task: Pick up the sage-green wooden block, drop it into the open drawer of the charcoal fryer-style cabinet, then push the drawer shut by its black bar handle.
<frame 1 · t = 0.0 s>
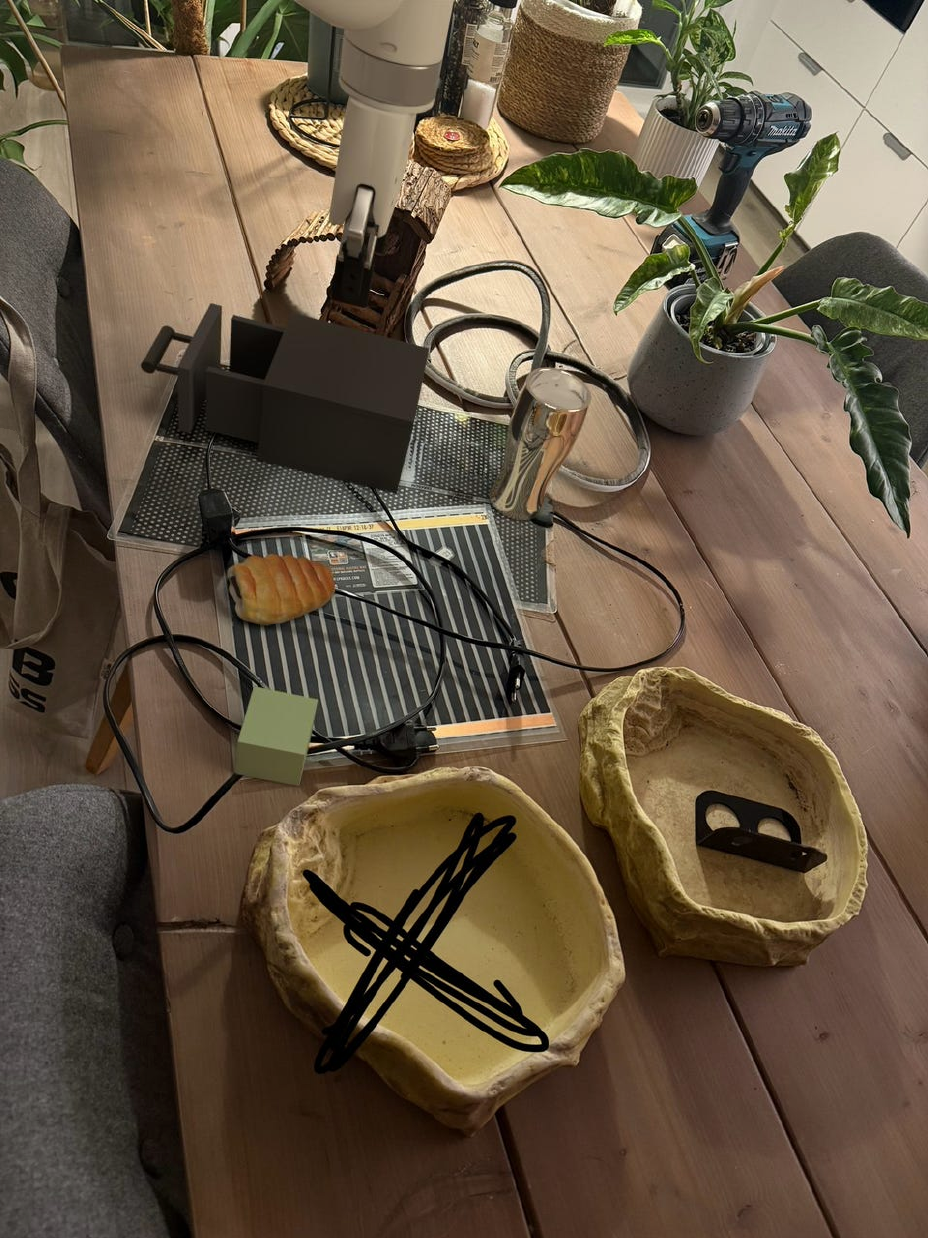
hand: (358, 274, 80), 19 cm above the table, tool pointing down, fingers open, 9 cm apart
block: (274, 752, 70), on the table
cabinet: (339, 439, 95), on the table
beer glass: (515, 502, 95), on the table
drawer: (239, 377, 90), point 5 cm above the table, slide at 7.0 cm
pastry: (274, 597, 80), on the table
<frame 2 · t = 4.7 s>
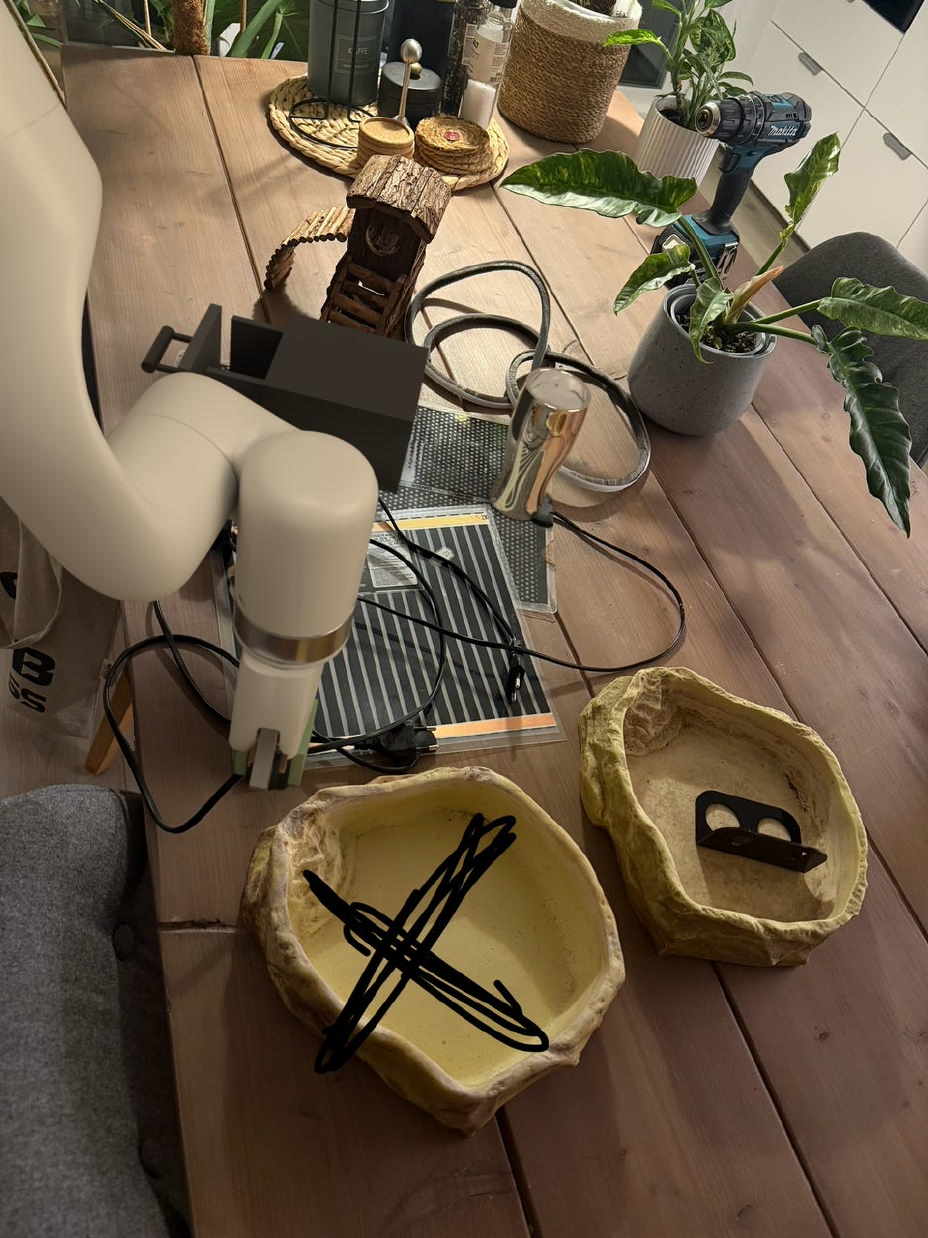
hand: (275, 750, 70), 0 cm above the table, tool pointing down, fingers closed on block, 5 cm apart
block: (274, 752, 70), on the table, touching gripper
everything else where it was.
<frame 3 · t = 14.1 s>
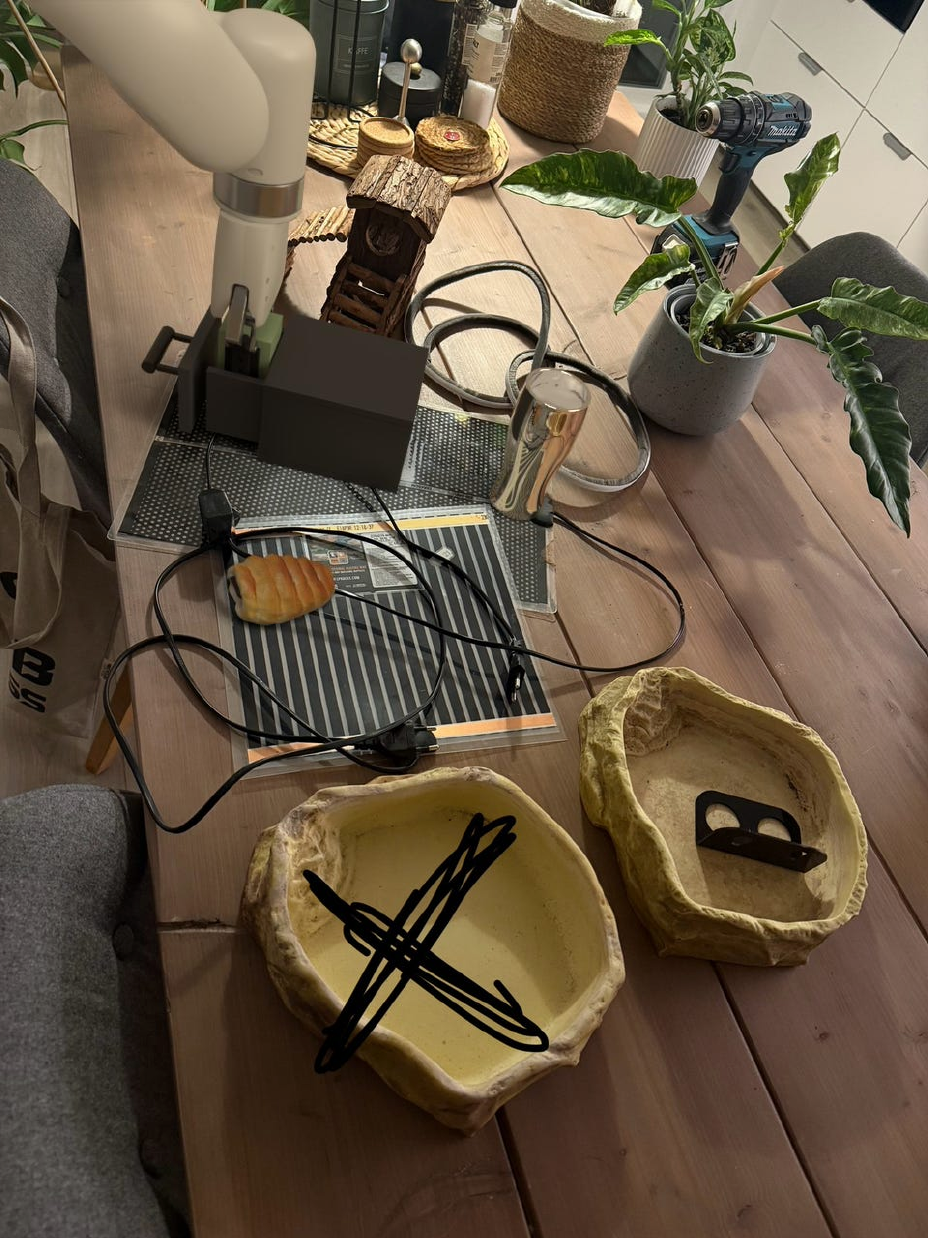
hand: (248, 361, 88), 7 cm above the table, tool pointing down, fingers closed on block, 5 cm apart
block: (249, 365, 89), point 7 cm above the table, touching gripper
everything else where it was.
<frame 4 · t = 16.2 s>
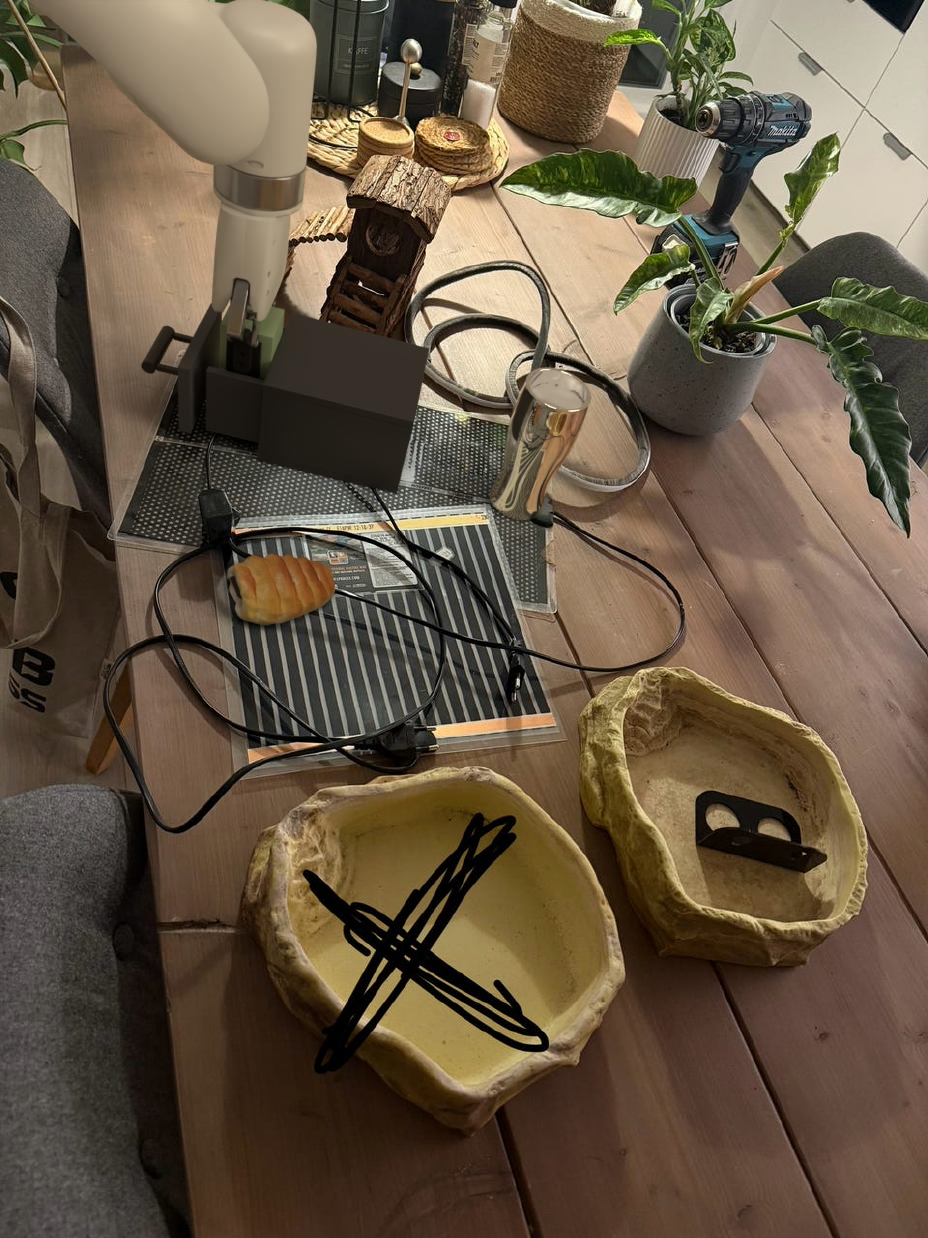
hand: (250, 356, 88), 8 cm above the table, tool pointing down, fingers closed on block, 5 cm apart
block: (250, 359, 88), point 7 cm above the table, touching gripper
everything else where it was.
when the fingers open (10 cm above the table, at t = 27.9 s): block drops 8 cm, resting on drawer.
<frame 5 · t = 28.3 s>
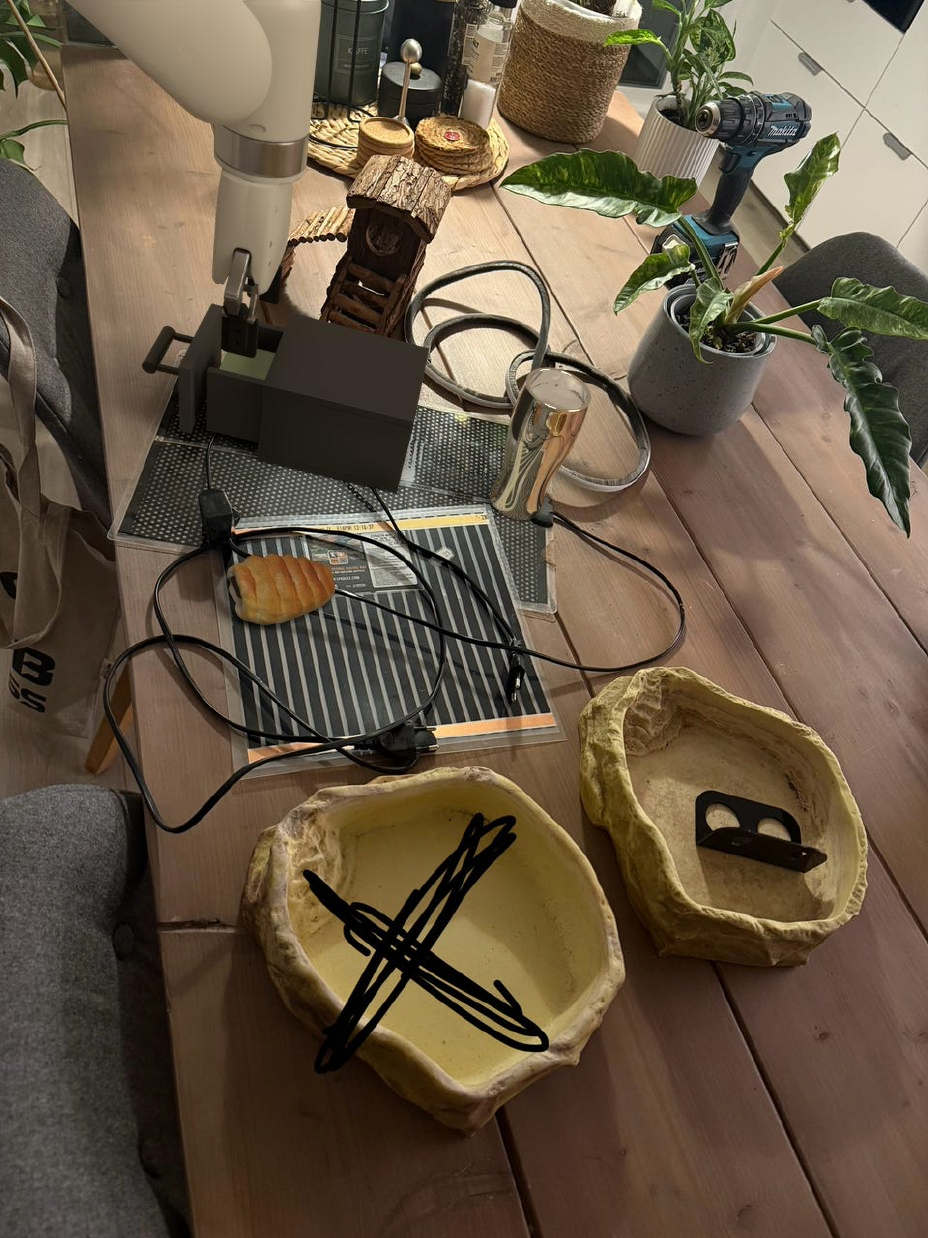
hand: (251, 325, 85), 11 cm above the table, tool pointing down, fingers open, 9 cm apart
block: (247, 401, 92), point 2 cm above the table, touching drawer
drawer: (240, 377, 90), point 5 cm above the table, slide at 6.9 cm, touching block
everything else where it was.
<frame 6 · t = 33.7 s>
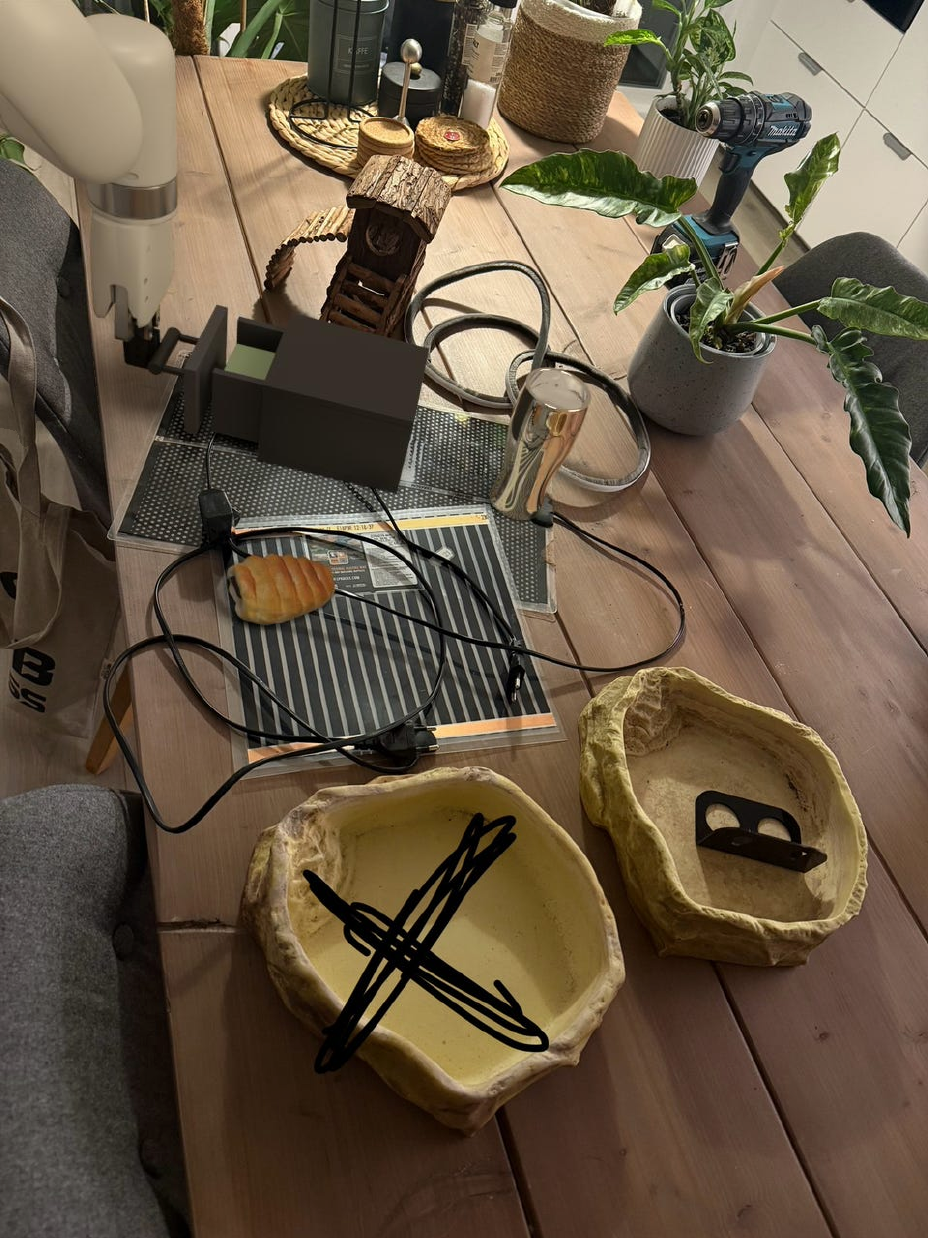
hand: (142, 362, 90), 3 cm above the table, tool pointing down, fingers closed
drawer: (245, 378, 90), point 5 cm above the table, slide at 6.4 cm, touching block
everything else where it was.
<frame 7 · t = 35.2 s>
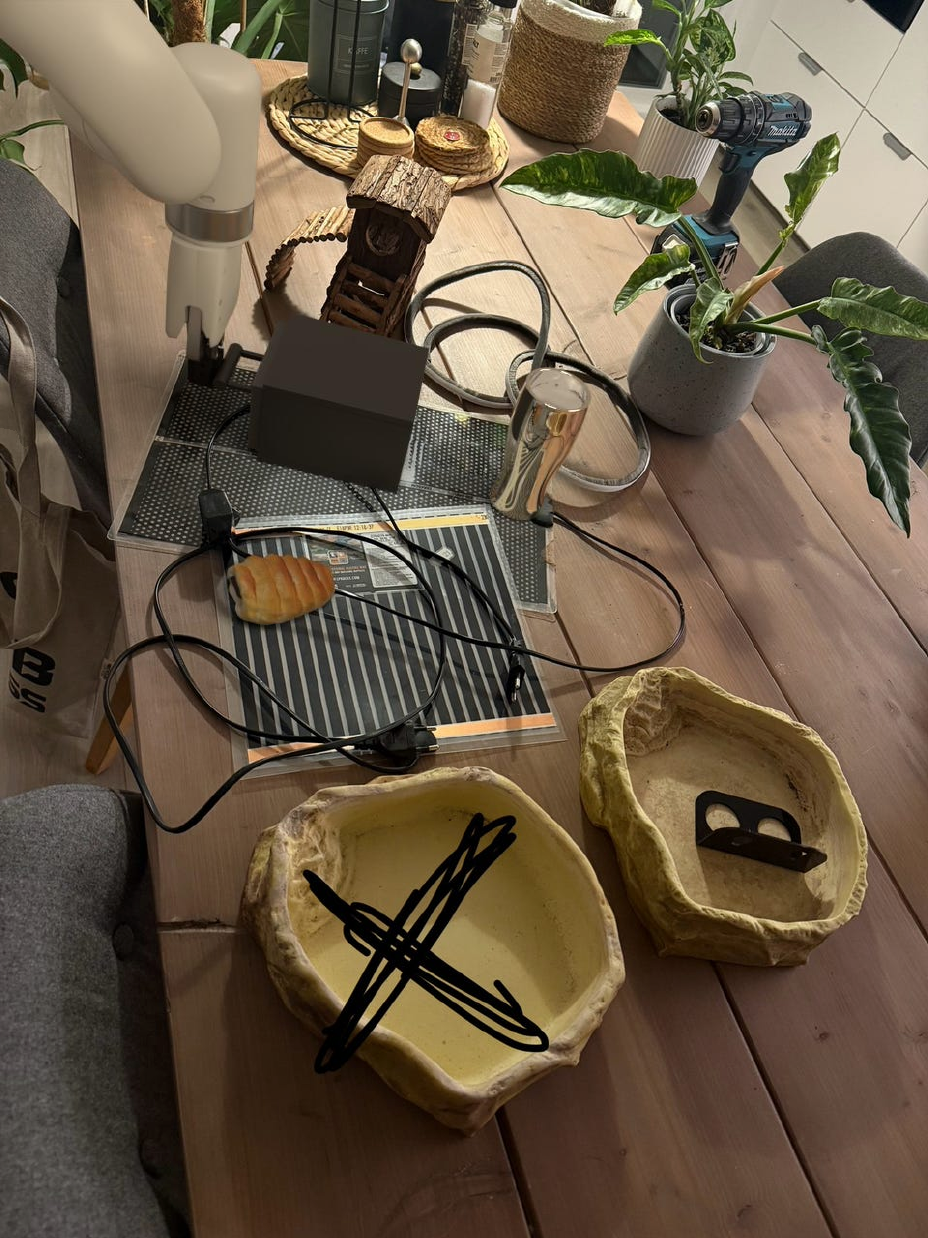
hand: (205, 381, 91), 3 cm above the table, tool pointing down, fingers closed
block: (312, 417, 93), point 2 cm above the table, touching drawer
drawer: (307, 394, 91), point 5 cm above the table, slide at 0.0 cm, touching block, cabinet, gripper
everything else where it was.
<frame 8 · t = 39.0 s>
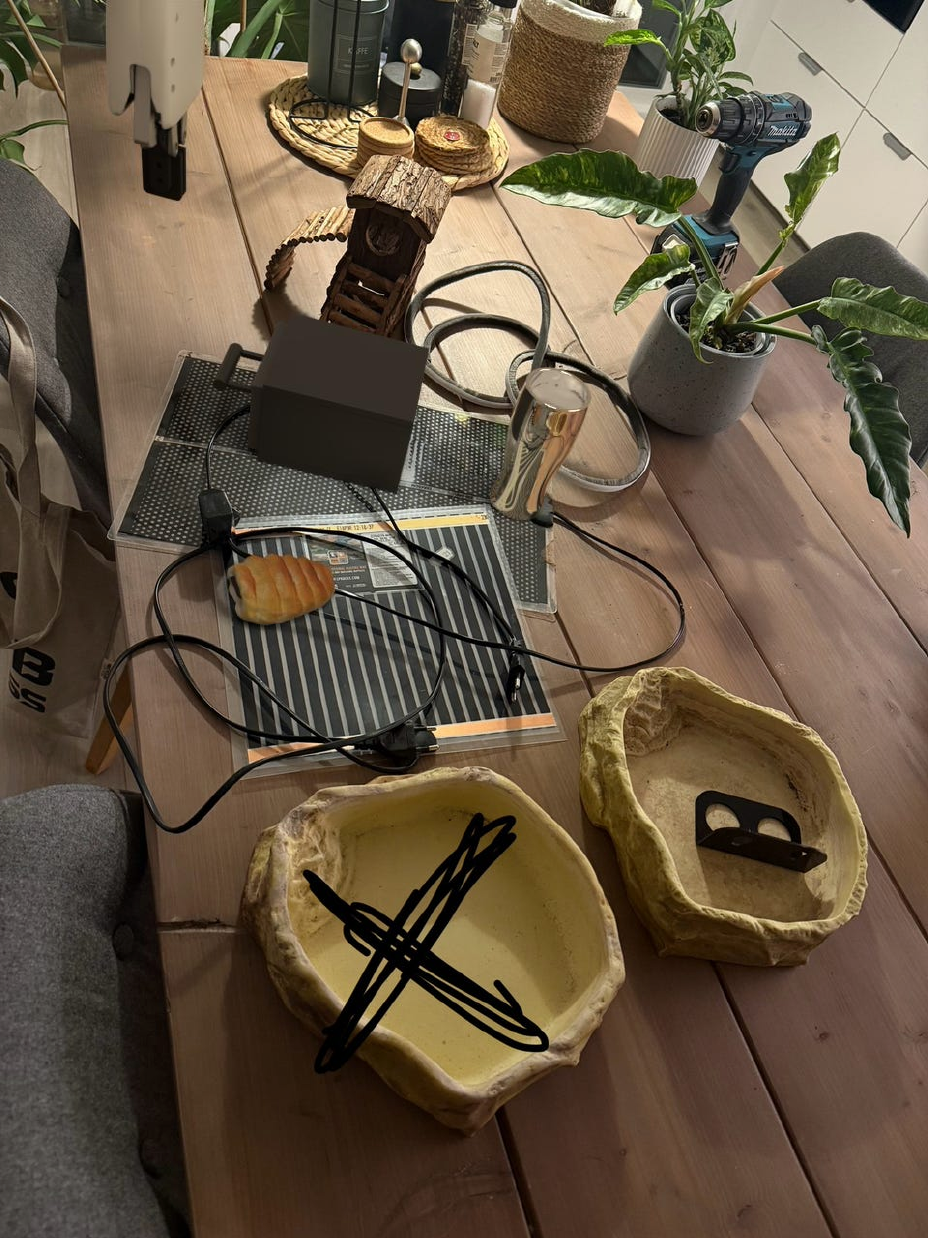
hand: (165, 192, 76), 22 cm above the table, tool pointing down, fingers closed
drawer: (307, 394, 91), point 5 cm above the table, slide at 0.0 cm, touching block, cabinet
everything else where it was.
at the end: block inside the target area in the cabinet (3.0 cm from its centre), point 2.0 cm above the cabinet's base; drawer slide at 0.0 cm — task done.
